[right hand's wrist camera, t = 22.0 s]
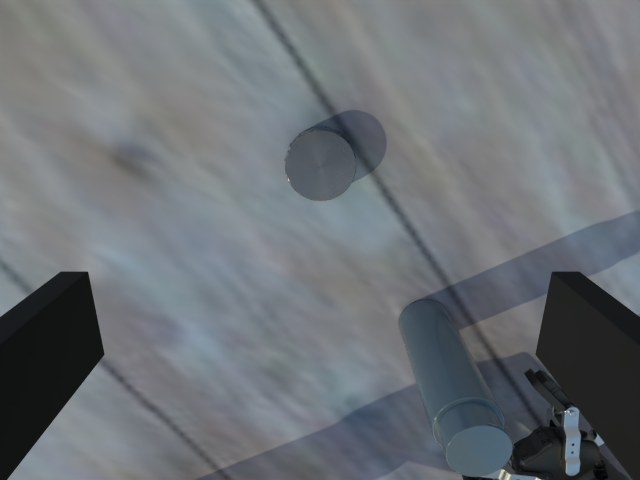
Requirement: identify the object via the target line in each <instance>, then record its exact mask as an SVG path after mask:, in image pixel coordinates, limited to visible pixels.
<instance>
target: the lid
mask: <svg viewBox="0 0 640 480" xmlns="http://www.w3.org/2000/svg"><path fill="white" fill-rule="evenodd" d="M289 147H290V148H289V151H288V153H287V156H286V158H285V171H286V175H287V178H288V181H289V183H290V184H291V186H292V187H293V188H294V190H295V191H296V192H298V193H299V194H300V195H302V196H303V197H305V198H308V199H311V200H315V201H326V200H331V199H333V198H336V197H338V196H339V195H341V194H342V193H343V192H345V191H346V190H347V188H348V187H349V186H350V184H351V183H352V181H353V179H354V176H355V172H356V160H355V158H356V156H355V154H354V153H353V150H352V148H351V146H350V142H349V141H347V140H346V139H345V137H344V136H342V135H341V134H340V132H339V131H338V132H337V131H335V130H332V129H329V128H327V127H325V128H324V127H317V128H313V127H312V128H311V129H309V130H306V131H304V132H303V133H300V134H299V136H298V137H297V138H295V140H294V141H293V142H292V143H291V144H290V146H289Z"/></svg>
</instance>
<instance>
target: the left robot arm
mask: <svg viewBox="0 0 640 480" xmlns="http://www.w3.org/2000/svg"><path fill="white" fill-rule="evenodd" d="M524 374H525V376H526V377H527V378H528V380H529V381H530V383H531V384H532V386H533V387H534V388H535V389H536V390H537V391H538V392H539V393H540V394H541V395H542V396H543V397H544V398H545V399H546V400H547V401H548V402H549V403H550V404H551V409H548V413H547V427H544V428H542V427H541V426H540V427H539V428H537V429H536V430H534V431H533V432H532V433H531V434H530V435H529V436H528V437H526V438H524V439H521V440H519V441H518V442H516V443H515V444H514V446H515V447H513V446H512V447H513V449H512V454H511V457H510V459H509V460H512V467H511V466H510V464H509V462H507V463H506V464H505V465H504V466H503V467H502V468H501V469H499V470H498V471H496V472H494V473H492V474H489V475H486V476H480V477H470V476H465V475H462V477H463V480H493V479H492V478H494V480H499V479H500V480H628V478H626V477H625V476H624V475H623V474H622V473H620V472H619V471H618V470H617V469H616V468H615V467H614V466H613V465H612V464H611V463H610V462H609V461H608V460H607V459H606V458H605V457H604V456H603V455H602V454H601V453H600V452H599V446H601V445H602V444H604V442H603V440H602V439H601V438H600V437H599V435H598V434H597V433H596V431H595V430H594V429H593V428H592V426H591V431H590V432H589V433H587V432H585V431H582V430H579V428H578V423H579V410H578V408H577V407H576V406H575V404H574V403H573V402H572V401H571V399H570V398H569V397H568V395H567V394H566V393H565V392H564V390H563V389H561V388H560V387H559V386H558V385H557V384H556V383H555V382H554V381H553V380H552V379H551V378H550V377H549V376H548V375H547V374H546V373H545V372H543V371H541V370H539V371H538V372H536V373H535V372H534V371H533V370H532V369H529V370H528V371H526V372H525V373H524Z"/></svg>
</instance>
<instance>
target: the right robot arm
mask: <svg viewBox="0 0 640 480" xmlns="http://www.w3.org/2000/svg"><path fill="white" fill-rule="evenodd" d="M103 356H104V350H103V345H102V340H101V335H100V330H99V325H98V320H97V315H96V310H95V305H94V300H93V294H92V289H91V284H90V279H89V274H88V272H60V273H58V274H57V275H56V276H54V277H53V278H52V279H50V280H49V281H48V282H46V283H45V284H44V285H42V286H41V287H40V288H38V289H37V290H36V291H34V292H33V293H32V294H30V295H29V296H28V297H26V298H25V299H24V300H22V301H21V302H20V303H18V304H17V305H16V306H14V307H13V308H12V309H10V310H9V311H8V312H6V313H5V314H4V315H2V316H1V317H0V480H7V479H8V478H9V476H10V475H11V474H12V473H13V471H14V470H15V469H16V467H17V466H18V465H19V464H20V462H21V461H22V460H23V458H24V457H25V456H26V455H27V453H28V452H29V451H30V449H31V448H32V447H33V446H34V444H35V443H36V442H37V440H38V439H39V438H40V437H41V435H42V434H43V433H44V431H45V430H46V429H47V428H48V426H49V425H50V424H51V422H52V421H53V420H54V419H55V417H56V416H57V415H58V413H59V412H60V411H61V410H62V408H63V407H64V406H65V404H66V403H67V402H68V401H69V399H70V398H71V397H72V395H73V394H74V393H75V392H76V390H77V389H78V388H79V386H80V385H81V384H82V383H83V381H84V380H85V379H86V377H87V376H88V375H89V374H90V372H91V371H92V370H93V368H94V367H95V366H96V365H97V363H98V362H99V361H100V359H101V358H102V357H103ZM536 356H537V357H538V358H539V359H540V361H541V362H542V363H543V365H544V366H545V367H546V368H547V370H548V371H549V372H550V374H551V375H552V376H553V377H554V379H555V380H556V381H557V383H558V384H559V385H560V386H561V388H562V389H563V390H564V392H565V393H566V394H567V395H568V397H569V398H570V399H571V401H572V402H573V403H574V404H575V406H576V407H577V408H578V410H579V411H580V412H581V413H582V415H583V416H584V417H585V419H586V420H587V421H588V422H589V424H590V425H591V426H592V428H593V429H594V430H595V431H596V433H597V434H598V435H599V437H600V438H601V439H602V440H603V442H604V443H605V444H606V446H607V447H608V448H609V449H610V451H611V452H612V453H613V455H614V456H615V457H616V458H617V460H618V461H619V462H620V464H621V465H622V466H623V467H624V469H625V470H626V471H627V473H628V474H629V475H630V476H631V478H632V479H633V480H640V317H639V316H638V315H636V314H635V313H634V312H632V311H631V310H630V309H628V308H627V307H626V306H624V305H623V304H622V303H620V302H619V301H618V300H616V299H615V298H614V297H612V296H611V295H610V294H608V293H607V292H606V291H604V290H603V289H602V288H600V287H599V286H598V285H596V284H595V283H594V282H592V281H591V280H590V279H588V278H587V277H586V276H584V275H583V274H582V273H580V272H552V274H551V279H550V284H549V289H548V294H547V300H546V305H545V310H544V315H543V320H542V325H541V330H540V335H539V340H538V345H537V350H536Z"/></svg>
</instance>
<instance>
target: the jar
mask: <svg viewBox="0 0 640 480" xmlns="http://www.w3.org/2000/svg"><path fill="white" fill-rule="evenodd" d="M399 329H400V332H401V336H402V339H403V342H404V345H405V348H406V351H407V355H408V358H409V361H410V364H411V367H412V370H413V374H414V377H415V380H416V383H417V386H418V389H419V393H420V396H421V399H422V402H423V405H424V408H425V412H426V415H427V418H428V421H429V424H430V427H431V431H432V434H433V437H434V439H435V440H436V442H437V443H438V444H439V445H440V446H441V447H442V448H443V451H444V454H445V457H446V460H447V462H448V464H449V466H450V467H451V468H452V469H453V470H454V471H456V472H458V473H459V474H462V475H465V476H470V477H480V476H486V475H489V474H492V473H494V472H496V471H498V470H499V469H501V468H502V467H503V466H504V465H505V464H506V463H507V462H508V461H509V459H510V457H511V454H512V449H513V447H512V446H513V443H512V437H511V436H510V434H509V432H508V431H507V430H506V429H505V428H504V424H505V420H504V415H503V413H502V411H501V409H500V407H499V405H498V403H497V401H496V400H495V398H494V396H493V394H492V392H491V390H490V389H489V387H488V385H487V383H486V381H485V379H484V378H483V376H482V374H481V372H480V370H479V368H478V367H477V365H476V363H475V361H474V359H473V357H472V356H471V354H470V352H469V350H468V348H467V346H466V345H465V343H464V341H463V339H462V337H461V335H460V334H459V332H458V330H457V328H456V326H455V324H454V322H453V321H452V319H451V317H450V315H449V313H448V311H447V310H446V308H445V307H444V306H443V305H441V304H440V303H438V302H436V301H433V300H419V301H416V302H413V303H412V304H410V305H409V306H407V307H406V308H405V309H404V310H403V312H402V313H401V315H400V318H399Z"/></svg>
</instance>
